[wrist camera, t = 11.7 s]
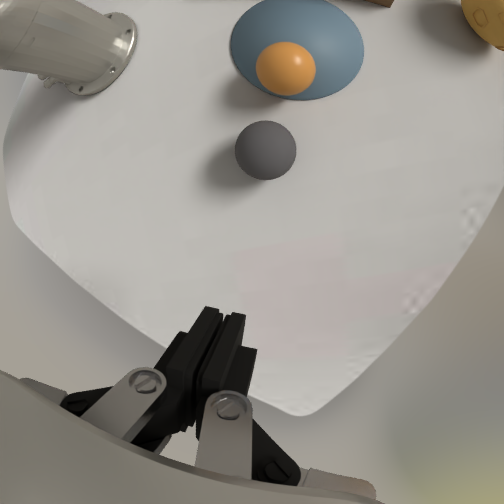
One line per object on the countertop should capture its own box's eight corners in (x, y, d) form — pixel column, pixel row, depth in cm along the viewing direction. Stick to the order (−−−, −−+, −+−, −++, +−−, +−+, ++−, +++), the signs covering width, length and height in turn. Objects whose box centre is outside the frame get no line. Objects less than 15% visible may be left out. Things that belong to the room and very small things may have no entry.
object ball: (260, 33, 17) (268, 36, 21) (243, 89, 21) (254, 82, 25) (325, 53, 18) (321, 52, 22) (305, 108, 21) (304, 98, 25)
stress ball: (446, -6, 16) (444, -7, 12) (491, -27, 7) (502, -33, 4) (488, 53, 19) (497, 68, 15) (534, 35, 10) (554, 48, 6)
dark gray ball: (226, 115, 22) (265, 118, 26) (219, 174, 25) (258, 169, 29) (276, 123, 19) (312, 128, 23) (265, 191, 22) (301, 183, 26)
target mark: (246, 112, 26) (245, 111, 26) (221, 9, 22) (220, 8, 22) (379, 92, 23) (379, 92, 23) (341, -9, 19) (341, -10, 19)
